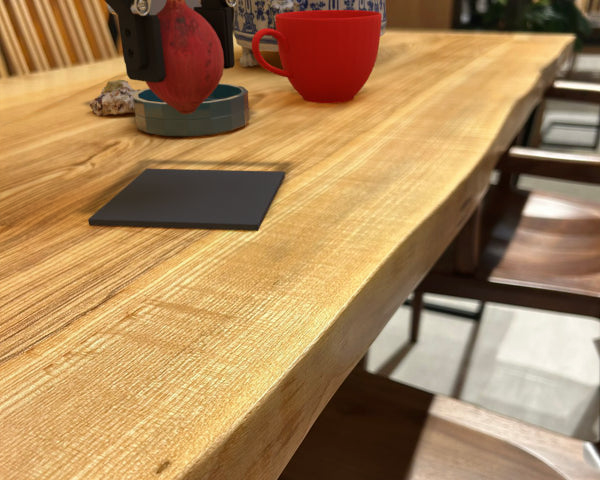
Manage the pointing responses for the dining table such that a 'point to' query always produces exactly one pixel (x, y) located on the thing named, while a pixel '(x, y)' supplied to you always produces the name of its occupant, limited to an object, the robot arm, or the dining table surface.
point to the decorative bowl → (267, 3)
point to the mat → (193, 200)
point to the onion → (187, 57)
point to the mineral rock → (114, 99)
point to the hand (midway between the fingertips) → (182, 70)
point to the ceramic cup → (324, 51)
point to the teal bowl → (203, 121)
